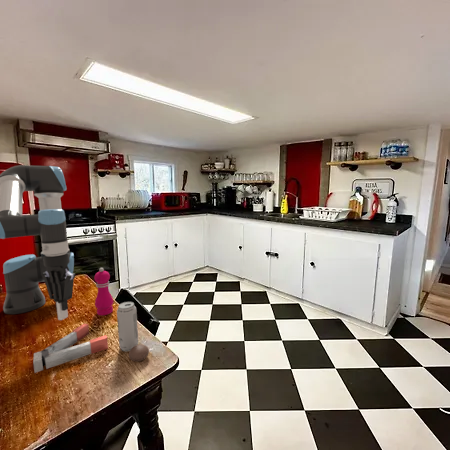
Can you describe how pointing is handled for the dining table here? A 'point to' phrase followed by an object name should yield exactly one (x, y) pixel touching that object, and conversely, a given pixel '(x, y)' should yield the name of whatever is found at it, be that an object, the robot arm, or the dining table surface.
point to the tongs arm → (70, 339)
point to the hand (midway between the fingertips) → (63, 318)
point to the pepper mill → (103, 293)
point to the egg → (138, 352)
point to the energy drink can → (127, 326)
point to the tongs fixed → (68, 353)
